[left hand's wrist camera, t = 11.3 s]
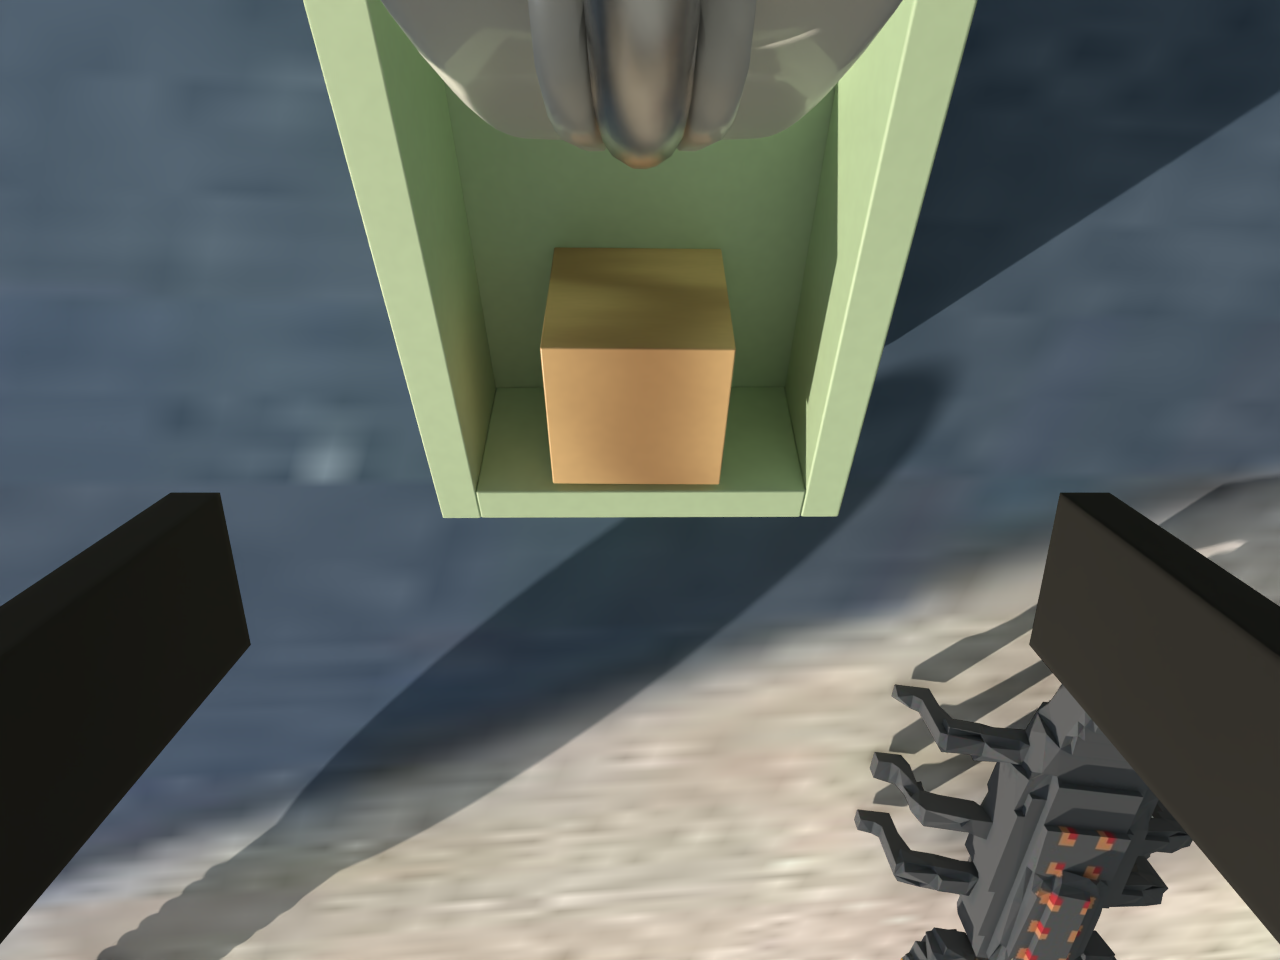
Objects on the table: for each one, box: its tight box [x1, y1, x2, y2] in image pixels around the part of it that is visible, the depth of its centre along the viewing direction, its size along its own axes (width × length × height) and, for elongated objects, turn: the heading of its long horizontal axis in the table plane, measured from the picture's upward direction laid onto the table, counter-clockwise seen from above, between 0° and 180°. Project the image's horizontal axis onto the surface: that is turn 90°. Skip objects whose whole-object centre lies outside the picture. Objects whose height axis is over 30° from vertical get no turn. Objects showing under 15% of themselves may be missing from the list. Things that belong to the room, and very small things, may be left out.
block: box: [540, 247, 736, 484], centre depth 24 cm, size 5×5×5 cm
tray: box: [303, 0, 978, 518], centre depth 19 cm, size 12×22×6 cm, turn 0°
